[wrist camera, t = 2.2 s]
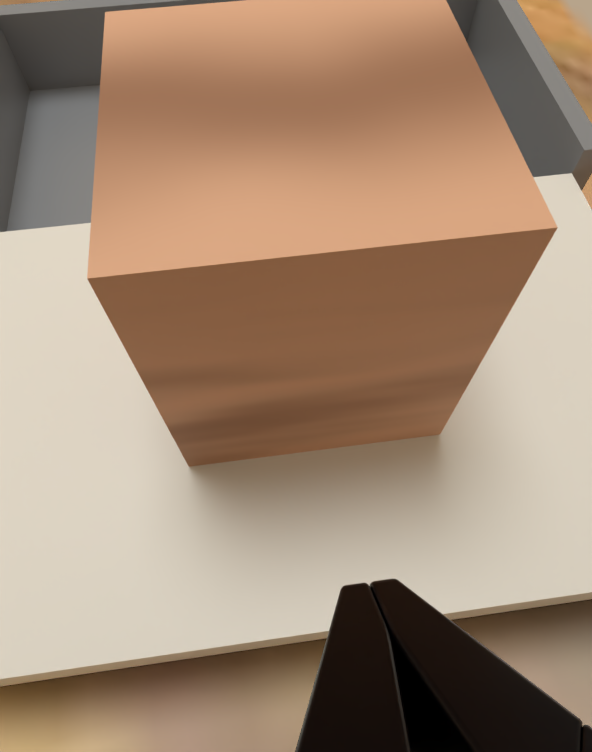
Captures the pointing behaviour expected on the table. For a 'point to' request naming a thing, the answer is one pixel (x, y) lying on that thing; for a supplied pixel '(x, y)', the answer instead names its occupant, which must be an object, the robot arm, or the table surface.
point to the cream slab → (275, 483)
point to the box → (89, 3)
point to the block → (304, 219)
